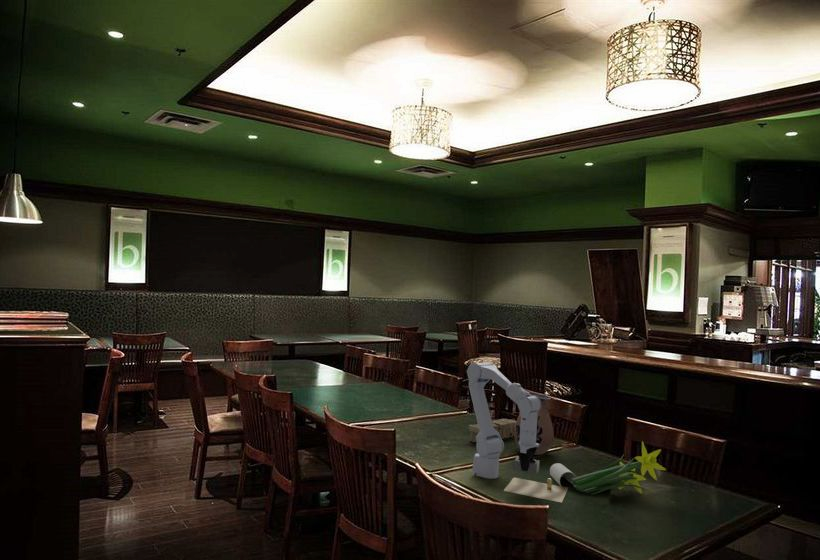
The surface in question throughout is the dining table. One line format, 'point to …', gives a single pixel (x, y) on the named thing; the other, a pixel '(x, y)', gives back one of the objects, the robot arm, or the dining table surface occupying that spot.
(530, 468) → the dark grey open box
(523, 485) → the birch board
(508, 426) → the tan block
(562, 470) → the mug
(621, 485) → the daffodil flowers
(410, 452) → the dining table surface
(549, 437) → the ceramic pitcher
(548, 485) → the brass knob
